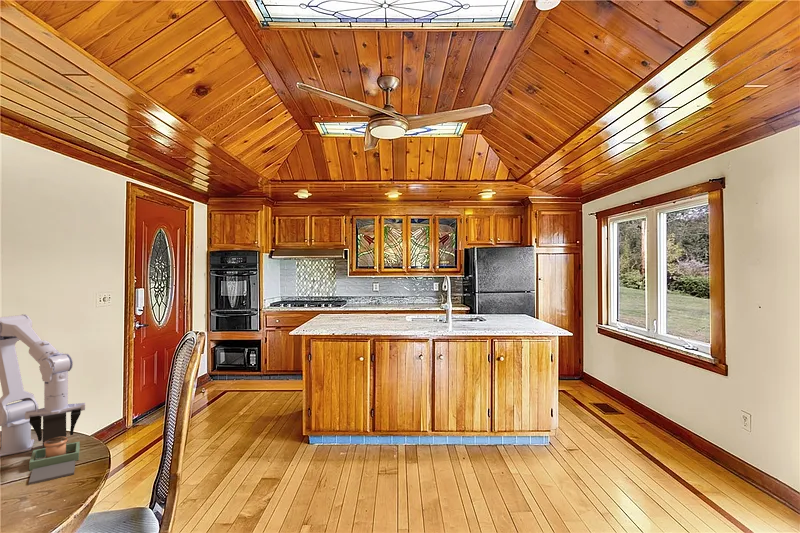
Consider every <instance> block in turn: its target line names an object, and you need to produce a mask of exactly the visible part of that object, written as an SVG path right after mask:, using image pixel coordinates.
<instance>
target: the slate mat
mask: <svg viewBox="0 0 800 533" xmlns="http://www.w3.org/2000/svg"><path fill="white" fill-rule="evenodd" d="M75 466H76V461H75V460H74V461H69V462H64V463H60V464H55V465H50V466H45V467H41V468H36V469H33V470H32V471H31V473H30V477H29V480H28V485H34V484H39V483H43V482H46V481H51V480H55V479H60V478H65V477H69V476H73V475H75V470H76V467H75Z"/></svg>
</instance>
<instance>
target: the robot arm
mask: <svg viewBox="0 0 800 533" xmlns="http://www.w3.org/2000/svg"><path fill="white" fill-rule="evenodd" d="M18 341H21V342H22V343H23V344H25V345H26V346H27V347H28V354H29V355H30V356H31V357H32V358H33V359H34V361H36V362H37V363H38V364H39V367H38V368H39V372H40V374H41V380H42V382H43V383H44V386H43V389H44V390H43V395H44V398H43V400H44V401H43V403H44V406H43V407H42V408H39V403H38V401H37V400H36V397H35V395H34V394H33V393H31V392H29V391H27V390H25V389H24V384H23V378H22V375H21V369H20V364H19V360H18V355H17V351H16V343H17V342H18ZM73 364H74V361H73V358H72V357H71V355H70V354H69V353H66V352H65V353H64V352H59V350H58V349H56V347H55V346H54V345H53V344H52V343H51V342H50V341H48V340H42V339H41V337H40V336H39V335H38V334H37V332H36V331H35V330H34V328H33V320H32V319H31V317H30V316H29V315H27V314H24V313H23V314H19V315H9V316H0V387H1V392H2V396H1V397H0V427H1V428H0V429H1V430H0V432H1V437H0V438H1V439H0V440H1V441H0V444H1V446H0V457H3V456H8V455H13V454H14V455H15V454H18V453H25V452H30V451H31V450H32V449H33V445H34V442H35V439H33V438H32V429H33V430H34V431H35V434H36V437H37V441H38V442H41V441H43V429H42V420H43V416H48V415H54V414H60V413H66V414H67V413H70V430H69V431H70V432H69V435H70V436H73V435H74V430H75V426H76V424H77V422H78V420H79V418H80V416H81V413H82V411H86V402H79V403H69V395H68V394H69V372H70V371H72V369H73Z"/></svg>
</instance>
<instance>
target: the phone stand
mask: <svg viewBox="0 0 800 533" xmlns="http://www.w3.org/2000/svg"><path fill="white" fill-rule="evenodd" d="M56 437H67V412H66V413H60V414H54V415H48V416H42V449H43V448H46V447H44V442H45V441H47V440H49V439H52V438H56Z"/></svg>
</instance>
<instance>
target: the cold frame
mask: <svg viewBox="0 0 800 533" xmlns="http://www.w3.org/2000/svg"><path fill="white" fill-rule="evenodd" d="M80 444H81V442H80V441H76V442H70V443H66V454H64V455H60V456H55V457H50V458H45V454H46V448H43V447H42V448H39V449H33V450H32V453H31V456H30V460H29V464H28V465H29V466H28V468H29V469H28V470H29V472H30V471H31V472H32V470H33V469H36V468H41V467H45V466H50V465H55V464H60V463H64V462H69V461H74V460H75V462H78V461H77V460H79V459H80V450H81V448H80V447H81V446H80Z"/></svg>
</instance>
